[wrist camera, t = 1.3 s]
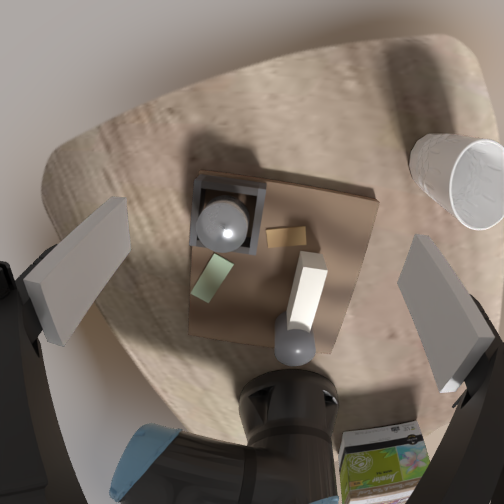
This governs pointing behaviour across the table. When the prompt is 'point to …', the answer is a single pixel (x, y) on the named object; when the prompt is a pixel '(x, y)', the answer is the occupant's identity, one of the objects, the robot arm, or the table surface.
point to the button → (223, 224)
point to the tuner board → (275, 258)
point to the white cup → (462, 176)
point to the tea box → (382, 464)
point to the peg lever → (300, 312)
